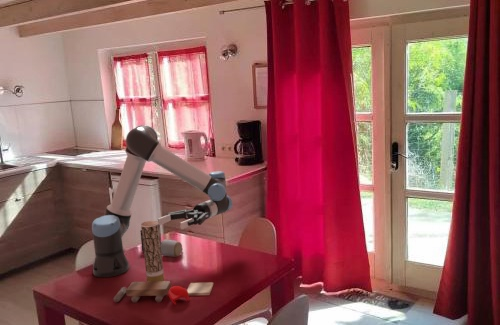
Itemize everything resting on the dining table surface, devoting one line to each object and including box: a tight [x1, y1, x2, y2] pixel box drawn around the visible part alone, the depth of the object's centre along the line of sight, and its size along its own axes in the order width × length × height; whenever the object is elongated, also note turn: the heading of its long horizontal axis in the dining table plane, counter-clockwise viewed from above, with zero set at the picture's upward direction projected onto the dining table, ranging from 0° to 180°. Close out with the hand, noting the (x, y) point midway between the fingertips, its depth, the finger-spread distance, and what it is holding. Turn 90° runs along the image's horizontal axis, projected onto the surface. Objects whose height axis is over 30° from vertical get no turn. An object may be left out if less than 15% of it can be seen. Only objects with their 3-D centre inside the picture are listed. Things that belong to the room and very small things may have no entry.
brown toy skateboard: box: [113, 280, 172, 303], centre depth 177 cm, size 20×8×5 cm, turn 85°
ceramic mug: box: [161, 238, 183, 258], centre depth 220 cm, size 11×8×8 cm
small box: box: [139, 225, 162, 252], centre depth 231 cm, size 11×6×10 cm, turn 168°
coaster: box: [186, 281, 214, 297], centre depth 180 cm, size 9×9×1 cm
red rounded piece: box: [167, 285, 190, 306], centre depth 171 cm, size 8×6×6 cm
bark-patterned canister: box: [140, 220, 165, 282], centre depth 187 cm, size 7×7×25 cm
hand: (169, 223), depth 193 cm, fingers open, 13 cm apart
